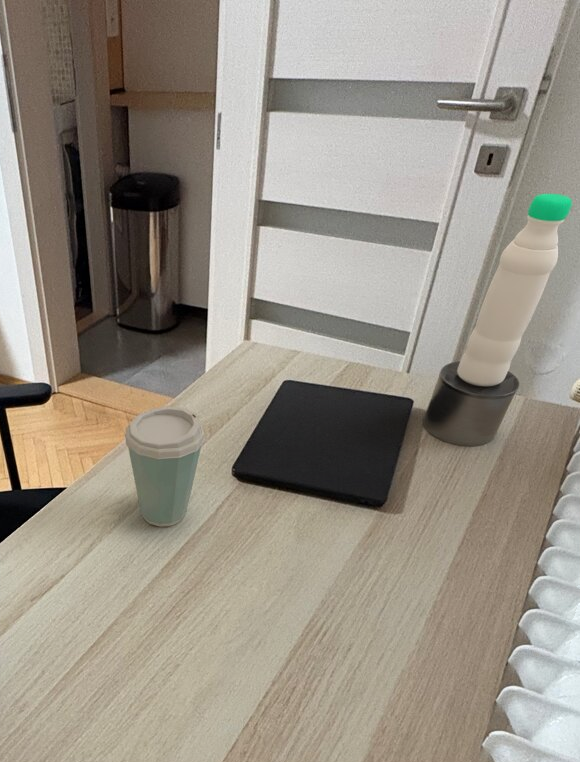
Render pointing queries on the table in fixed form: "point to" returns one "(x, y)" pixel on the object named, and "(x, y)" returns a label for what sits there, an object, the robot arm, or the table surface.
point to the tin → (467, 408)
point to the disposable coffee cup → (164, 461)
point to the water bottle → (514, 293)
